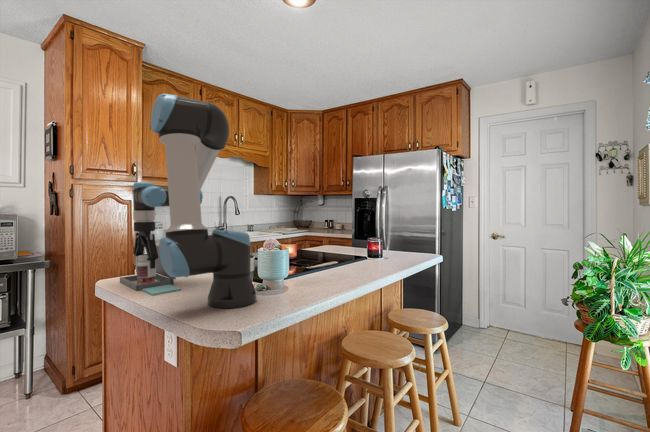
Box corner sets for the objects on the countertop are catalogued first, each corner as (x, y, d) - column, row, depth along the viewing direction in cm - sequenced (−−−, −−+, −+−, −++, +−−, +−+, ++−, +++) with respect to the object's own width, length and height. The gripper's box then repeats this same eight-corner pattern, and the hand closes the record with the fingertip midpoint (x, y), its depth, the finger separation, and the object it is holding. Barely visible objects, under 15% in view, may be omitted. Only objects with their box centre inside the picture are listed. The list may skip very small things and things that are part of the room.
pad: (181, 290, 123) (181, 288, 123) (152, 295, 116) (152, 293, 116) (169, 285, 130) (169, 284, 130) (142, 290, 123) (142, 289, 123)
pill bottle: (155, 284, 133) (154, 255, 133) (137, 286, 130) (137, 257, 129) (153, 281, 138) (153, 253, 138) (136, 283, 135) (135, 255, 134)
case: (175, 284, 133) (175, 249, 132) (136, 290, 122) (135, 252, 122) (156, 276, 146) (155, 245, 146) (119, 282, 136) (119, 248, 136)
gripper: (166, 222, 127) (167, 277, 128) (143, 219, 144) (144, 268, 145) (145, 223, 122) (146, 280, 123) (124, 220, 139) (125, 271, 140)
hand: (145, 274), depth 134 cm, fingers open, 13 cm apart
